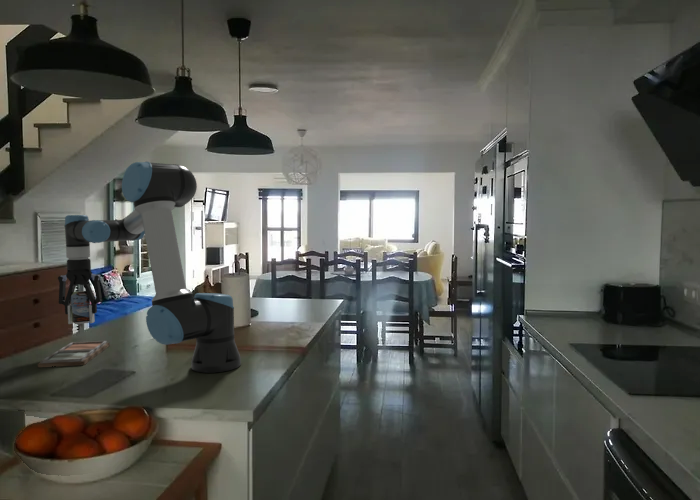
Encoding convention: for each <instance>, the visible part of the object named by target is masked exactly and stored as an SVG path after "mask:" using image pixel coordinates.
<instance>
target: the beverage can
mask: <svg viewBox="0 0 700 500" xmlns="http://www.w3.org/2000/svg"><path fill="white" fill-rule="evenodd" d="M90 304H91V302H90V299H89V297H88V295H87V292H86V290H80V291H74V292H73V293H72V295H71V304H70V305H71V309H72V324H74V325H83V324H90V316H89V305H90Z"/></svg>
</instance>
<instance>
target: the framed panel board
mask: <svg viewBox="0 0 700 500" xmlns="http://www.w3.org/2000/svg"><path fill="white" fill-rule="evenodd" d="M108 347H110V342H108V340H98V341H97V340H95V341H79V342H78V341H73V342H72V341H71V342H70V343H68V344H66V345H65V346H63V347H62V348H60V349H58V350H56V351H55V352H53V353H51V354H50V355H49V356H47V357H45V358H43V359H42V360H40V362H38V363H37V368H52V366H53V368H54V366H56V367H73V366H85V365H86V364H88V363H89V362H90V361H91V360H93V359H94V358H95V357H97V356H98V355H100V354H101V353H102V352H103V351H105V350H107V348H108Z"/></svg>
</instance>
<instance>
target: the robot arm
mask: <svg viewBox="0 0 700 500" xmlns="http://www.w3.org/2000/svg"><path fill="white" fill-rule="evenodd" d="M197 187H198V185H197V178H196V177H195V175H194V174H193V172H192V171H191V170H190V169H188V168H187V167H186V166H184V165H180V164H177V163H176V164H174V163H172V164H171V163H164V162H163V163H162V162H160V163H159V162H152V161H151V162H150V161H136V162H133V163H131V164H130V165H129V166H128V167H127V168H126V170H124V174H123V177H122V181H121V191H122V195H123V197H124V198H125V200H126V201H128V202H130V203H133V206H134V210H133V211H132V212H130V213H128V215H127V216H125V217H123V218H122V219H109V220H107V219H105V220H103V219H100V220H99V219H97V220H96V219H93V220H89V216H88V215H87V214H86V215H85V214H74V215H72V214H68V215H66V216H65V217H64V231H65V232H64V233H65V234H64V235H65V253H66V254H65V255H66V258H67V260H66V270H67V271H66V274H64V275H60V276H58V277H57V279H58V282H59V288H58V304H59V305H63V306H64V314H65V315H67V323H68V325H71V324H73V323H72V309H71V295H72V293H73V292H75V289H76V287H77V286H78V285H80V286H82V287H83V288H84V291H86V292H87V295H88V297H89V299H90V305H89V316H90V321H89V324H93V323H95V314H96V313H97V312H98V303H101V302H103V298H102V290H101V289H102V288H101V282H100V280H101V276H102V275H101V274H94V273H93V271H92V262H91V259H90V257H91V246H90V245H91V243H92V244H99V243H107V242H109V243H110V242H134V241H140V240H141V239H144V238H145V242H146V243H145V244H146V247H147V254H148V259H149V263H150V269H151V275H152V279H153V285H154V290H155V291H154V292H155V295H154V296H153V298H152V299H151V307H149V308H148V310H147V312H146V316H145V323H146V326H147V330H148V332H149V334H150V336H151V337H152V338H153V340H155V341H156V342H157V343H159V344H161V345H166V346H167V345H172V344H173V345H174V344H180V343H182V342H186V341H187V342H188V341H190V340H196V341H195V342H196V343H195V347H194V351H193V354H192V358H191V362H190V365H191V366H190V367H191V370H192V371H193V372H197V373H205V374H206V373H207V374H209V373H210V374H211V373H213V374H214V373H215V374H216V373H222V372H228V371H232V370H234V369H237V368H239V367H240V366H241V364H242V359H241V355H240V352H239V349H238V346H237V344H236V340H235V319H234V317H235V316H234V315H235V310H234V309H235V307H234V299H233V297H232V296H231V295H230V294H227V293H226V294H224V293H213V292H210V293H209V292H197V293H195V294H194V292H192V291H191V290H189V289H188V288H187V286H186V279H185V275H184V271H183V270H184V269H183V264H182V259H181V254H180V248H179V243H178V239H177V238H178V237H177V233H176V227H175V223H174V222H175V221H174V216H173V210H175V209H176V208H177V209H178V208H182V207H184V206H185V205H187V204H188V203H189V202H190V201H191V200H192V199H193V198H194V197H195V196H196V195H195V194H197V190H198V188H197ZM91 278H92V281H93V288H94V291H93V288H92V287H91V286H92V285H91V283H90V280H91ZM67 279H68V281H69V282H70V283H69V286H68V291H67V294H66V289H67V288H66V286H67Z"/></svg>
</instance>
